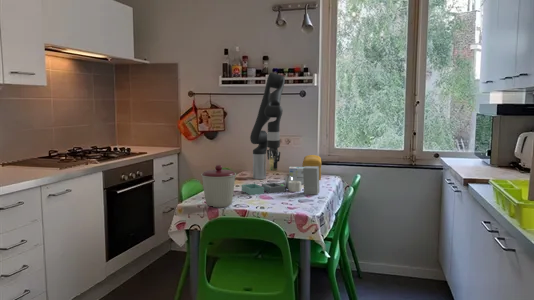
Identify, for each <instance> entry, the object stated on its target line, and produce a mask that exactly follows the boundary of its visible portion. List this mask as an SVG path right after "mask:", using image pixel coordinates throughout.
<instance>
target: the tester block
mask: <svg viewBox="0 0 534 300" xmlns="http://www.w3.org/2000/svg"><path fill="white" fill-rule="evenodd" d="M261 187H263V188H264V192H266V193H268V194H278V193H285V192H286V189H285V184H282V183H278V182H268V183H261Z"/></svg>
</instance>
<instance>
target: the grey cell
mask: <svg viewBox="0 0 534 300" xmlns="http://www.w3.org/2000/svg"><path fill="white" fill-rule="evenodd" d="M284 181H285V182H284V186H285V190H288V182H289V181H293V177H290V176H289V175H288V176H284Z"/></svg>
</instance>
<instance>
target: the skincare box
mask: <svg viewBox="0 0 534 300" xmlns="http://www.w3.org/2000/svg"><path fill="white" fill-rule="evenodd" d="M303 178H304V184H303V194H304V195H318V194H319V193H320V180H319V167H312V166H306V167H304V168H303Z"/></svg>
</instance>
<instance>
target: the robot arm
mask: <svg viewBox="0 0 534 300" xmlns="http://www.w3.org/2000/svg"><path fill="white" fill-rule="evenodd" d="M266 79H267V80H266V82H265V83H266V84H265V87H264V92H263V96H262V100H261V103H260V106H259V108H258V111H257V117H256V120H255V123H254V126H253V128H252V130H251V133H250V137H249V139H250V140H249V141H250V143H251V144H253V145H257V147H256V148H254V149H253V150H252V179H254V180H264V179H267V160H268V161H269V158H273V168H274V169H277V170H278V162H280V158H281V152H280V151H279V150H278V148H280V147H281V143H280V142H281V134H280V123H281V120H282V115H283V107H282V106H281V99H282V94H283V90H284V87H285V81H286V77H285V76H284V75H282V74H278V73H275V72H270V73H268V76H267V78H266ZM271 88H272V89H274V90H273V91H272V92H271ZM271 118H274V119H275V120H274V121H273V120H272V121H269V120H270V119H271ZM266 124H267V131H266V130H263V128H264V126H265V125H266Z"/></svg>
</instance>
